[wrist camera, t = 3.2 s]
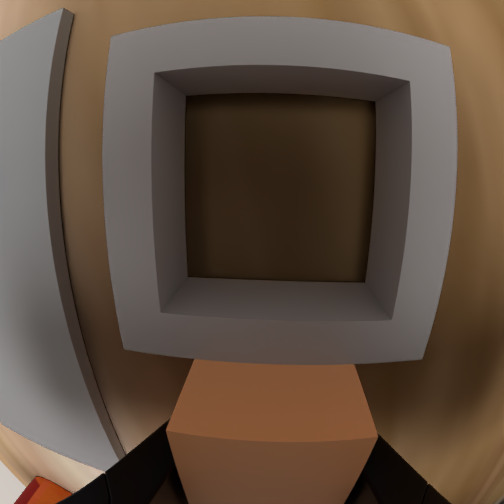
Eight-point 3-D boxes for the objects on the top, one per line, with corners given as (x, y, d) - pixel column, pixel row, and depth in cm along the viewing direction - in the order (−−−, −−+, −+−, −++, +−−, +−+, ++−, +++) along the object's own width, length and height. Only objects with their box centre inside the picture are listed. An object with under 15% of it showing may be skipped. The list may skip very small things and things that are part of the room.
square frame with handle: (340, 479, 10) (350, 556, 6) (187, 473, 10) (165, 548, 6) (410, 71, 6) (508, 12, 2) (149, 63, 6) (50, -2, 2)
